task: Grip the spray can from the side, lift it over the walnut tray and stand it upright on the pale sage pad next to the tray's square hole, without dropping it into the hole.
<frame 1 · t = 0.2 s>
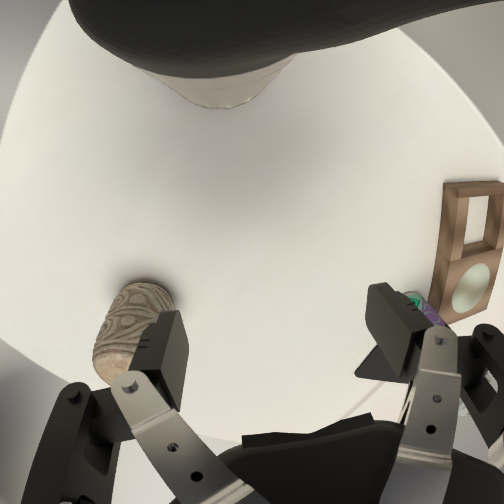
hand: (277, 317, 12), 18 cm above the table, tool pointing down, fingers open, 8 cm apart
walnut tray: (465, 251, 33), on the table
carving: (150, 298, 32), on the table
phone: (395, 362, 41), on the table
spray can: (404, 307, 36), on the table
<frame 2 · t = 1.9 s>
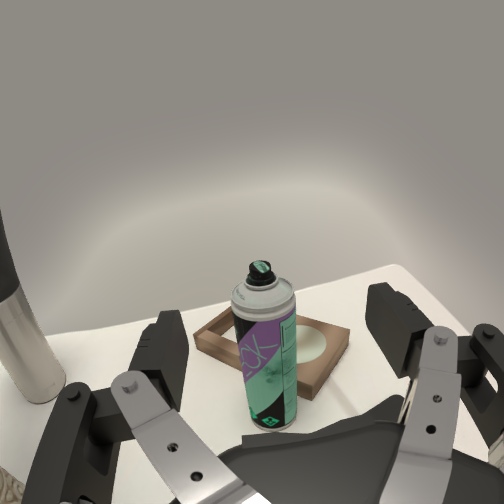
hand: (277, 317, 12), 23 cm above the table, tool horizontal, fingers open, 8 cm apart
walnut tray: (271, 349, 42), on the table
phone: (367, 445, 25), on the table
spray can: (273, 414, 31), on the table
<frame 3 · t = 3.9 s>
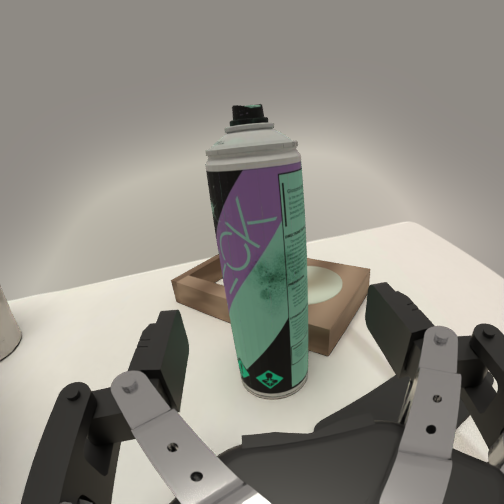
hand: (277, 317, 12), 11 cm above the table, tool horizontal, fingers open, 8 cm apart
walnut tray: (270, 298, 34), on the table
phone: (415, 413, 16), on the table
spray can: (274, 376, 23), on the table
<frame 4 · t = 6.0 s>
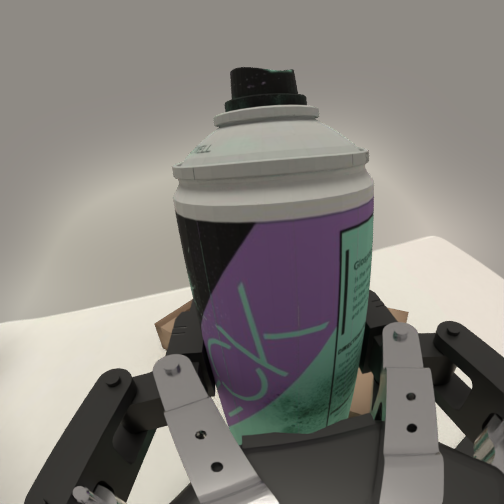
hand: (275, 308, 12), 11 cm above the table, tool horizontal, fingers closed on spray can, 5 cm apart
walnut tray: (281, 349, 25), on the table
spray can: (289, 469, 14), on the table, touching gripper
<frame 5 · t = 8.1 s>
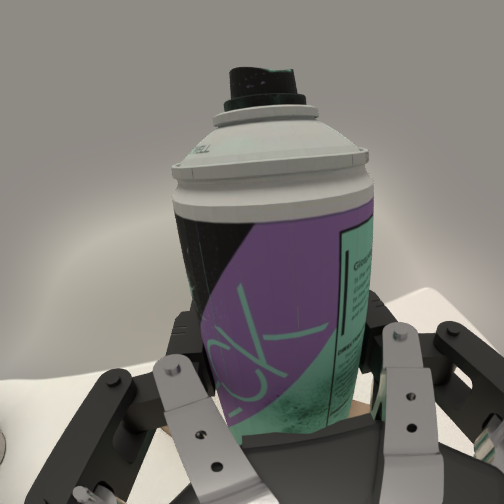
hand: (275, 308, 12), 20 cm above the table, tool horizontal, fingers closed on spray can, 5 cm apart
walnut tray: (267, 435, 25), on the table
spray can: (289, 470, 14), point 8 cm above the table, touching gripper
when the fingers open (15 cm above the table, at t = 10.0 s): spray can stays where it is, resting on walnut tray.
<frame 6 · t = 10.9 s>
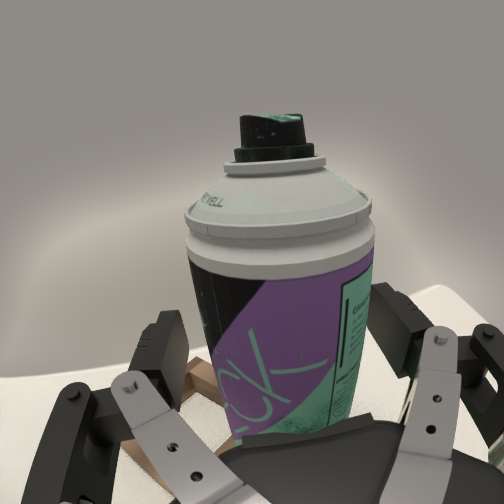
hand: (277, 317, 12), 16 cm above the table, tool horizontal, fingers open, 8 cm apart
walnut tray: (241, 463, 19), on the table
spray can: (289, 476, 15), point 3 cm above the table, touching walnut tray
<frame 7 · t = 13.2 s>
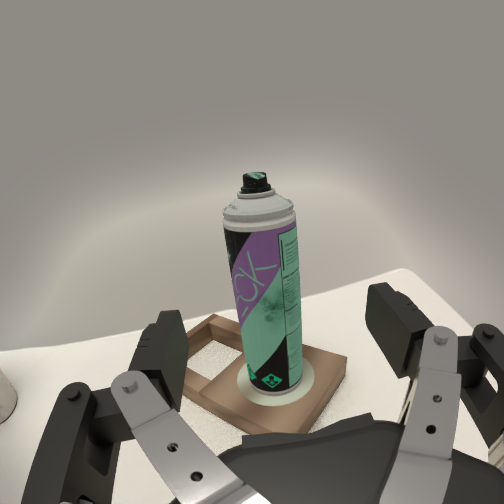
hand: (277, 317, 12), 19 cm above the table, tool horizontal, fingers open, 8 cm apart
walnut tray: (245, 380, 32), on the table
spray can: (276, 378, 28), point 3 cm above the table, touching walnut tray
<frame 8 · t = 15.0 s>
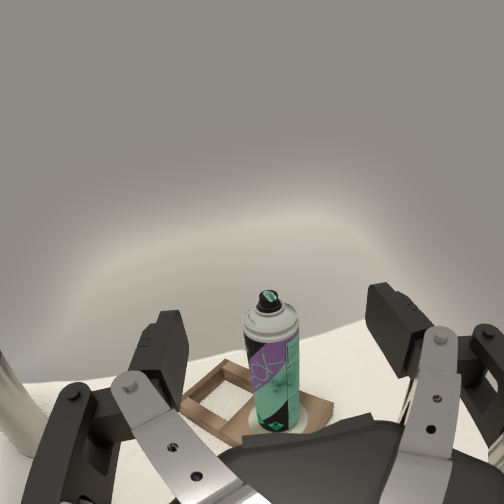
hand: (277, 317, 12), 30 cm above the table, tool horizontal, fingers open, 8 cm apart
walnut tray: (253, 417, 38), on the table
spray can: (278, 419, 34), point 3 cm above the table, touching walnut tray
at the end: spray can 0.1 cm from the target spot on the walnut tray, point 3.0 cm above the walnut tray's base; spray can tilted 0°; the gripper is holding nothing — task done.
